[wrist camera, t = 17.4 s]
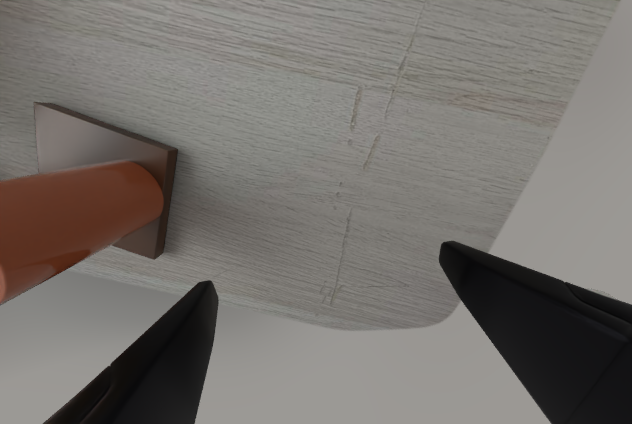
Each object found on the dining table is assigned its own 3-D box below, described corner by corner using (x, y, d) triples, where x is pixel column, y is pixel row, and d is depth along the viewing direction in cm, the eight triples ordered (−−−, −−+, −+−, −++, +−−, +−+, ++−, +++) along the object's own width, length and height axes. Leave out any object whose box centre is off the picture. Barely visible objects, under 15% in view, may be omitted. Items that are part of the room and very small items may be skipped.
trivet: (178, 149, 19) (168, 150, 18) (163, 253, 22) (154, 259, 21) (51, 102, 18) (33, 101, 17) (55, 216, 22) (40, 221, 21)
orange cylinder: (128, 146, 18) (-95, 170, 9) (177, 205, 19) (31, 282, 10) (83, 182, 19) (-154, 238, 10) (132, 236, 21) (-35, 329, 11)
